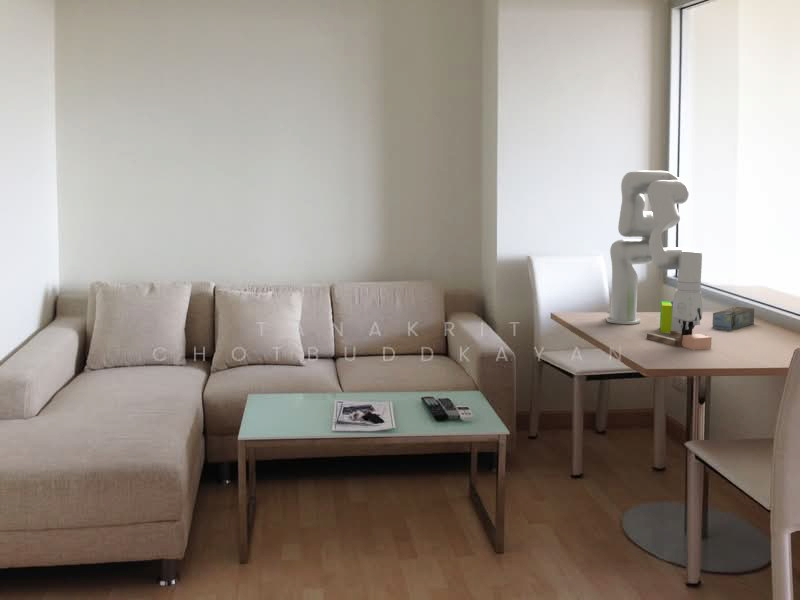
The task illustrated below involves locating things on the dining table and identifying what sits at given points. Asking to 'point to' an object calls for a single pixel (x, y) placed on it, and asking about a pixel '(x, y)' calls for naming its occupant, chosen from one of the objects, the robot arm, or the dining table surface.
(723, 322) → the beverage carton
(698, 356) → the dining table surface
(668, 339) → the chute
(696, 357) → the dining table surface
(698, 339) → the block
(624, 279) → the robot arm
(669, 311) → the puzzle toy
